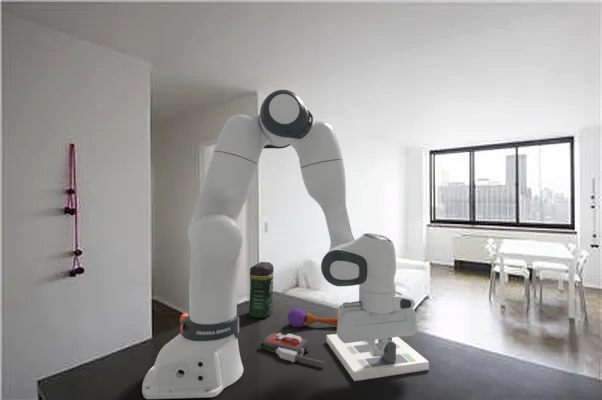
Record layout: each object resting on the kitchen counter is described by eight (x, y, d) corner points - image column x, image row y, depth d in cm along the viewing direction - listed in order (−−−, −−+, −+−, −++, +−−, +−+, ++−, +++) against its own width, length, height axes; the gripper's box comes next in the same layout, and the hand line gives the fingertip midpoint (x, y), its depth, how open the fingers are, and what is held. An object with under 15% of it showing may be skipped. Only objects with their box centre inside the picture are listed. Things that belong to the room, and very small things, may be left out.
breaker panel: (354, 381, 73) (354, 372, 73) (326, 341, 92) (326, 334, 92) (428, 369, 78) (428, 361, 78) (387, 334, 97) (387, 328, 97)
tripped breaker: (387, 362, 77) (387, 345, 76) (381, 356, 79) (381, 340, 79) (395, 361, 77) (395, 344, 77) (389, 355, 80) (389, 339, 80)
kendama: (350, 320, 99) (287, 313, 100) (348, 336, 100) (286, 330, 101) (348, 309, 105) (289, 304, 106) (346, 325, 106) (288, 319, 107)
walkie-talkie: (254, 353, 86) (322, 371, 77) (255, 337, 86) (322, 353, 77) (271, 340, 94) (334, 355, 85) (271, 325, 94) (334, 339, 85)
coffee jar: (268, 320, 108) (268, 266, 108) (246, 318, 110) (246, 265, 109) (276, 310, 117) (276, 260, 117) (256, 308, 119) (256, 259, 119)
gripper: (342, 307, 72) (342, 367, 72) (420, 300, 77) (420, 356, 77) (333, 298, 78) (332, 353, 78) (406, 292, 83) (405, 344, 83)
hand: (376, 355), depth 77 cm, fingers closed
